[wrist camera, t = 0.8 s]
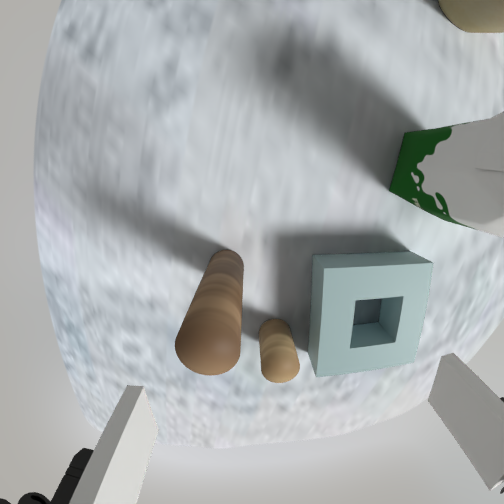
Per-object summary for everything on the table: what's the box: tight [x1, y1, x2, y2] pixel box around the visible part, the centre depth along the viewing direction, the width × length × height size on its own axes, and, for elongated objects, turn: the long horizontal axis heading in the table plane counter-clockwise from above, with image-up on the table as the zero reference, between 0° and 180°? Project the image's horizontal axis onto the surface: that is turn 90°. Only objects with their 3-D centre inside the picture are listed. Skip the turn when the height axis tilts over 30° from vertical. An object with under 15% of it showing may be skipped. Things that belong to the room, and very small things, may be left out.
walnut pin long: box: [175, 250, 244, 375], centre depth 23 cm, size 4×4×16 cm
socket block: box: [308, 251, 433, 377], centre depth 30 cm, size 12×12×5 cm
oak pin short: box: [259, 319, 300, 383], centre depth 30 cm, size 4×4×7 cm
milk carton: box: [389, 112, 504, 238], centre depth 19 cm, size 9×9×20 cm
